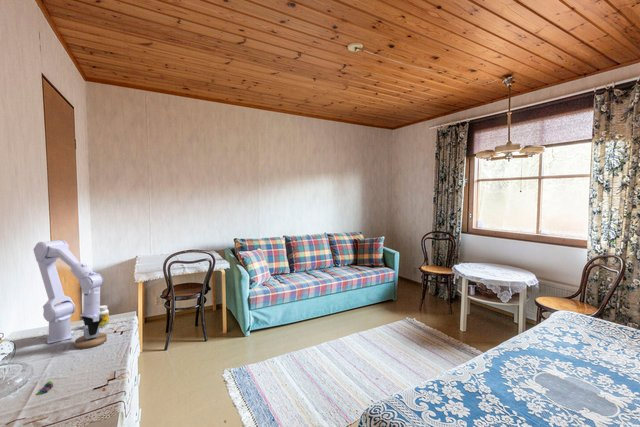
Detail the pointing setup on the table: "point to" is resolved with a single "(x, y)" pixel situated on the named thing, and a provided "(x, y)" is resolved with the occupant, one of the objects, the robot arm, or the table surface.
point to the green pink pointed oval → (45, 388)
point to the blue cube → (86, 333)
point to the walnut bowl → (90, 341)
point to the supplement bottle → (104, 316)
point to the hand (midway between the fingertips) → (91, 332)
